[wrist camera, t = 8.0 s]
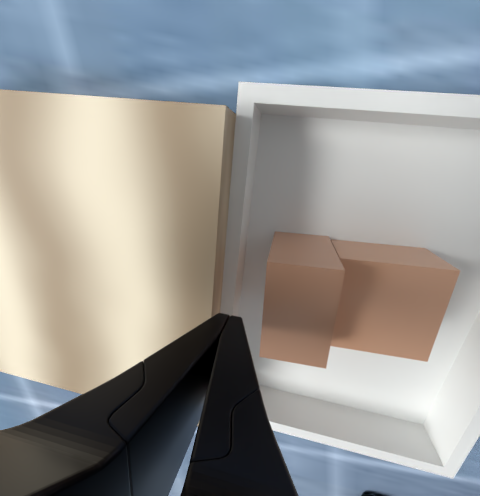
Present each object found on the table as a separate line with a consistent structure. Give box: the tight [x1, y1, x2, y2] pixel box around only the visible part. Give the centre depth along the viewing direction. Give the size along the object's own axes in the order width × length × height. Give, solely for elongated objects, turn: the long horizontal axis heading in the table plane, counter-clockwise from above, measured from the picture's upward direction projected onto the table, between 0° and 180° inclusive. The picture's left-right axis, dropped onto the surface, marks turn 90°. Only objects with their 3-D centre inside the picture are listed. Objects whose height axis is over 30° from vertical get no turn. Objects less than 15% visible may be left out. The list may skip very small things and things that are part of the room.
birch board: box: [0, 90, 236, 426], centre depth 13 cm, size 14×14×4 cm
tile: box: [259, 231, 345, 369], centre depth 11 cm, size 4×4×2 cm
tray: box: [220, 82, 480, 478], centre depth 12 cm, size 12×16×2 cm
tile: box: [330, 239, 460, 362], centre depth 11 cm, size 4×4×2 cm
